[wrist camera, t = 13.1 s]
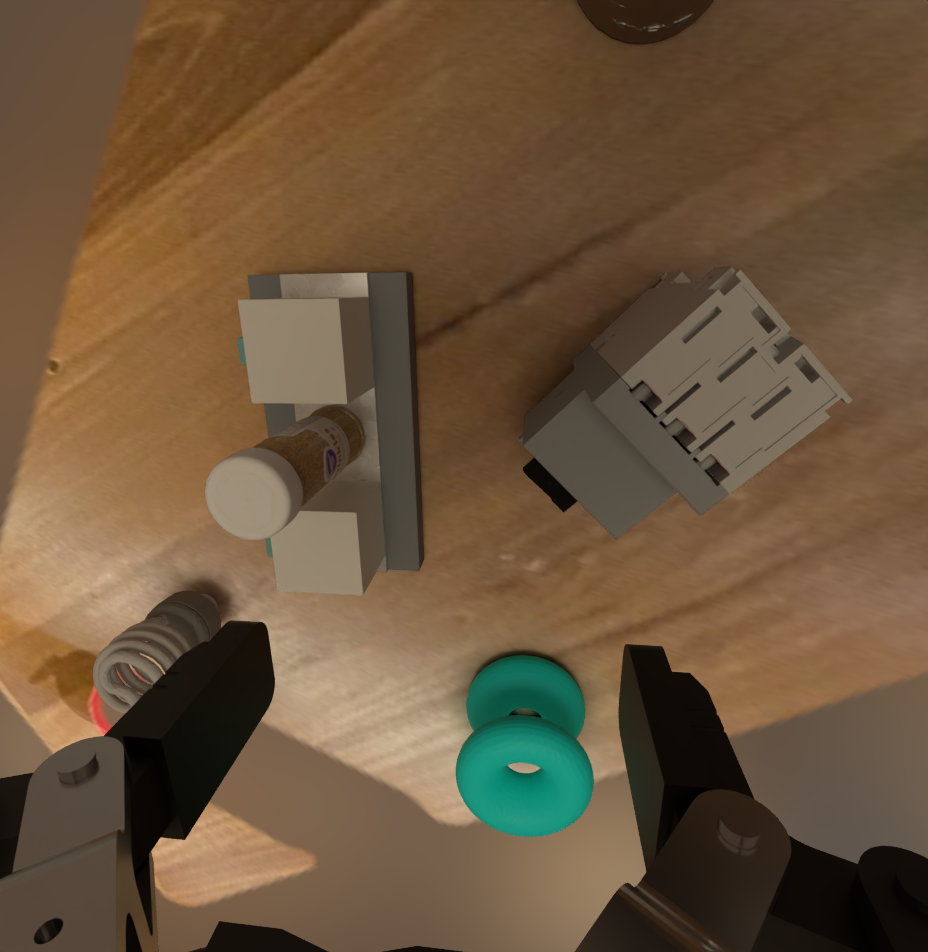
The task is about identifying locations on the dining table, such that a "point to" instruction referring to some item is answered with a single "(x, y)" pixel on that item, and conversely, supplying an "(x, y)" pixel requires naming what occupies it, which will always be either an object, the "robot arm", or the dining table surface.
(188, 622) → the light bulb
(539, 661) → the donuts
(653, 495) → the circuit breaker
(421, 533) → the mounting board
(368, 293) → the din rail
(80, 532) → the dining table surface
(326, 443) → the sprinkles bottle
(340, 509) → the mounted modules
